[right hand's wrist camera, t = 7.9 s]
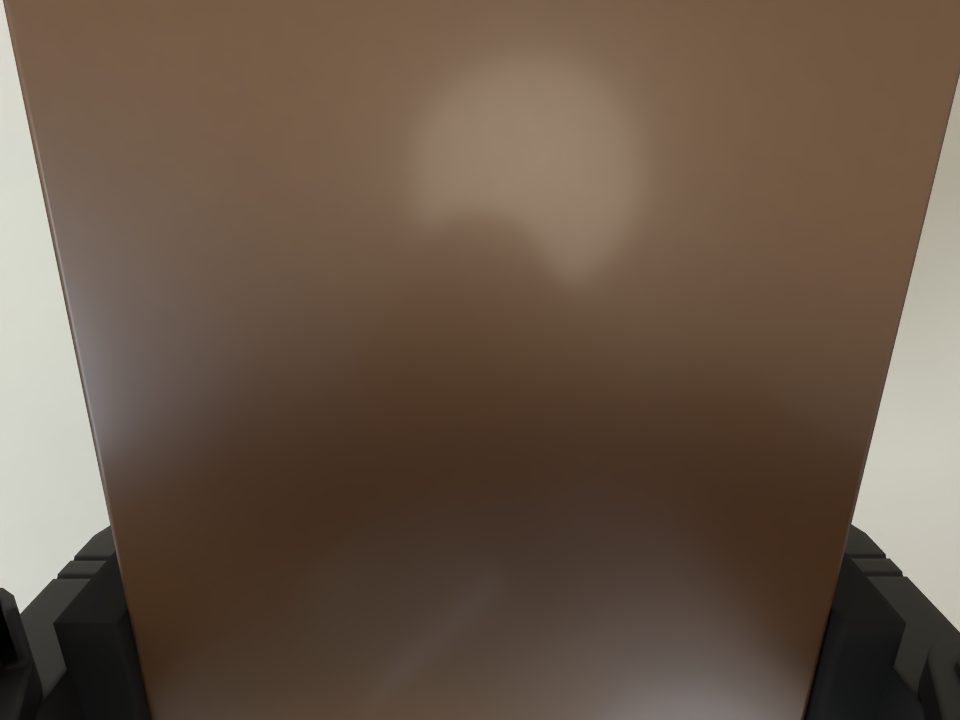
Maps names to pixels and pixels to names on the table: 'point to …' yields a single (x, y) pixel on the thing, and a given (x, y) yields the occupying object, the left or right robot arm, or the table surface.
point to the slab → (483, 336)
